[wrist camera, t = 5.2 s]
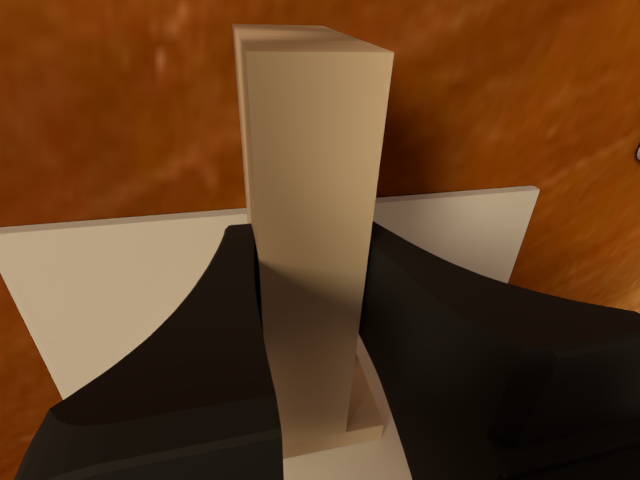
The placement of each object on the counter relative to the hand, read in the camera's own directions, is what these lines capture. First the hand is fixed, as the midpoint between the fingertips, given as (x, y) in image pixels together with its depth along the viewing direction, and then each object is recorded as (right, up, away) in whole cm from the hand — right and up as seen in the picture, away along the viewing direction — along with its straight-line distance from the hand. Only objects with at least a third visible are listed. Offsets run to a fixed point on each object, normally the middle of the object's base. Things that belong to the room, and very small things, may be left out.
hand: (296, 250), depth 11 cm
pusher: (-1, +1, +2) cm, 3 cm away
